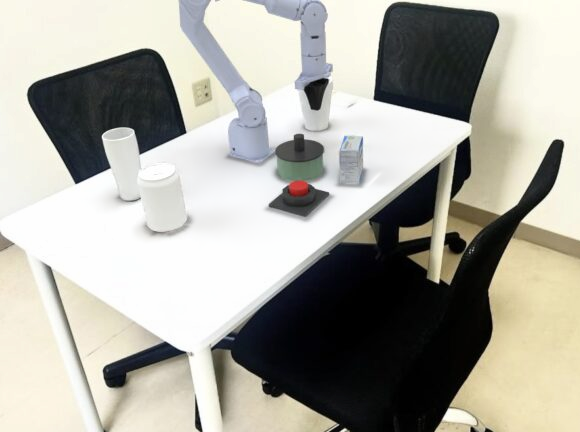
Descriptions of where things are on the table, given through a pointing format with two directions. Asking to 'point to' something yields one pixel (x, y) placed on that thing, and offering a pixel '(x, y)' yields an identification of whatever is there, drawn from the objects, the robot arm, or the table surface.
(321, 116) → the foam cup
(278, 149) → the lid
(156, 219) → the beverage can
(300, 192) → the button
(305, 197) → the button base
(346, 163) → the medicine box
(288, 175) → the green pot
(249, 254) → the table surface
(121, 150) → the drinking glass
